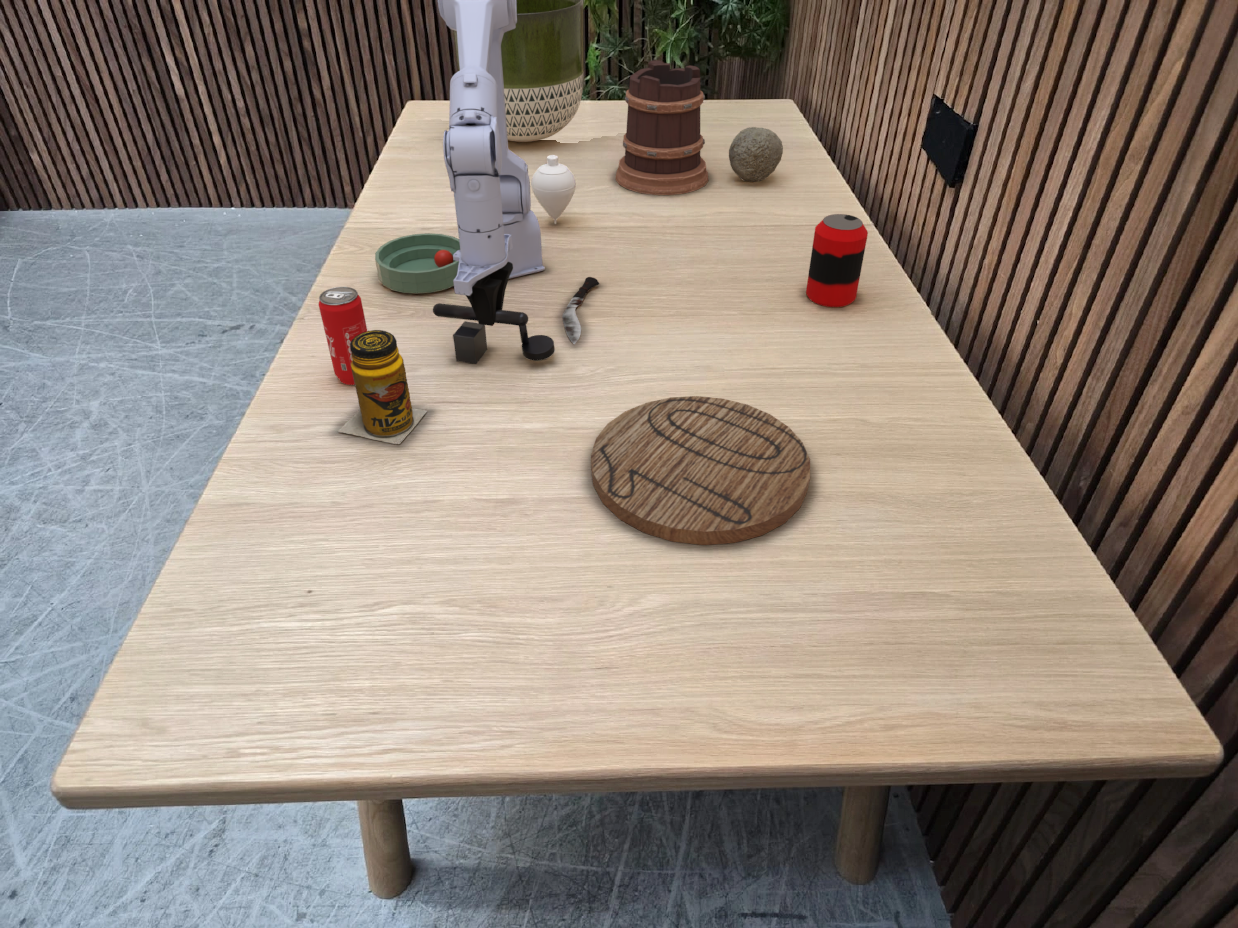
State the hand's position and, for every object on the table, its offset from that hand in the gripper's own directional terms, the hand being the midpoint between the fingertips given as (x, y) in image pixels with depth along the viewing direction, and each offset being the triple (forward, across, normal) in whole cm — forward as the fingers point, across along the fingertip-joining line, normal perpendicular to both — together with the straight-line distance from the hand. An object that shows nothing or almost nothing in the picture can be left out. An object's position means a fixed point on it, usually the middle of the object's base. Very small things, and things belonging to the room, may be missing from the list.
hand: (490, 319), depth 120 cm
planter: (+5, -87, -28) cm, 91 cm away
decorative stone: (+5, -74, +24) cm, 78 cm away
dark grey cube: (+5, +2, -3) cm, 6 cm away
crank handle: (+4, 0, 0) cm, 4 cm away
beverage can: (+5, +11, -15) cm, 19 cm away
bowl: (+5, -19, -20) cm, 28 cm away
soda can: (+5, -30, +43) cm, 53 cm away
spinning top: (+5, -44, -6) cm, 45 cm away
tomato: (+3, -21, -17) cm, 28 cm away
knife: (+5, -14, +8) cm, 17 cm away
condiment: (+5, +19, -7) cm, 21 cm away
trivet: (+5, +18, +33) cm, 38 cm away
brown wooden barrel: (+5, -73, +6) cm, 73 cm away
